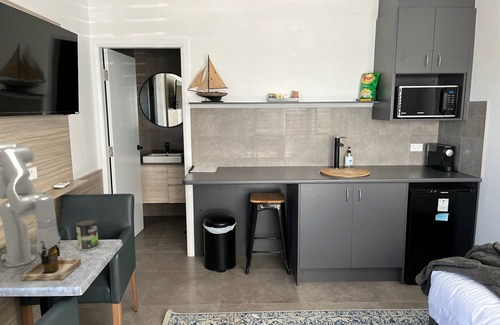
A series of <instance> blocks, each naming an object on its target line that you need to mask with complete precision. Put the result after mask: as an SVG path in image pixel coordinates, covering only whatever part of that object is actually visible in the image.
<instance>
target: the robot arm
mask: <svg viewBox="0 0 500 325" xmlns="http://www.w3.org/2000/svg"><path fill="white" fill-rule="evenodd" d="M34 159H35V155H34V151H33V150H32V149H31V148H30V146H27V145H25V144H21V143H19V142H16V141H8V142H0V200H6V201H4V202H2V203H0V219H1V220H0V221H1V223H2V228H3V234H4V239H5V247H6V253H2V254H1V257H0V260H5V262H4V266H5V267H6V268H18V267H22V266H25V265H28V264H30V263H32V262H34V261H35V260H36V256H35V255H34V254H32V253H31V252H32V251H31V244H30V237H29V227H28V224H27V223H26V222H25V221H24V220H23V219H22V218H25V217H28V216H32V215H34V214H35V220H36V226H37V228H36V253H38V255H39V257H40V260H41V261H42V264H43V265H44V264H50V262H49V255H48V250H49V249H50V248H52V247H53V246H55V247H56V250H57V256H58V257H60V256H61V252H60V244H61V239H62V238H61V236H60V234H59V230H58V225H57V217H56V216H57V215H56V209H55V200H54V197H53V195H47V194H45V193H42V192H38V193H37V192H36V189H35V187H34V184H33V183H32V181H31V180H30V176H31V172H30V170H29V169H28V167H27V165H26V164H29V163H32V162H33V161H34ZM44 248H46V249H44ZM43 251H46V252H45V253H44V252H43ZM41 261H40V262H41Z"/></svg>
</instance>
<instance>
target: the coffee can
mask: <svg viewBox="0 0 500 325" xmlns="http://www.w3.org/2000/svg"><path fill="white" fill-rule="evenodd" d="M97 222H98V221H97V219H84V220H80V221H77V222H76V223H75V229H76V239H77V248H78V250H79V251H83V252H85V251H86V250H88V251H92V250H95V249H97V248H98V247H99V246H100V244H99V242H100V241H99V234H98V223H97ZM86 252H87V251H86Z"/></svg>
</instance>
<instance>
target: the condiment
mask: <svg viewBox="0 0 500 325" xmlns="http://www.w3.org/2000/svg"><path fill="white" fill-rule="evenodd" d="M44 249H46V248H44ZM43 252H44V253H45V252H46V251H43ZM48 255H49V262H50V264H44V265H43V268H44V269H43V270H42V274H58V273H61V271H60V266H59V264H58V259H59V256H57V250H56V247H55V246H53V247H52V248H50V249H49V250H48Z"/></svg>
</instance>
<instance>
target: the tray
mask: <svg viewBox="0 0 500 325" xmlns="http://www.w3.org/2000/svg"><path fill="white" fill-rule="evenodd" d="M58 264H59V266H60V271H61V273H58V274H42V270H43V269H44V268H43V264H42V261H39V262H38V263H36V264H35V265H34V266H32V267H30V268H29V269H28V270H26V271H25V272H24V273H23V274H21V275H20V281H21V282H43V281H45V282H46V281H49V282H50V281H64V280H65V279H66V278H67V277H68V276H69V275H71V274H72V273H73V272H74V271H75V270H77V268H79V267H80V265H82V258H61V259H60V258H58Z"/></svg>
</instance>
